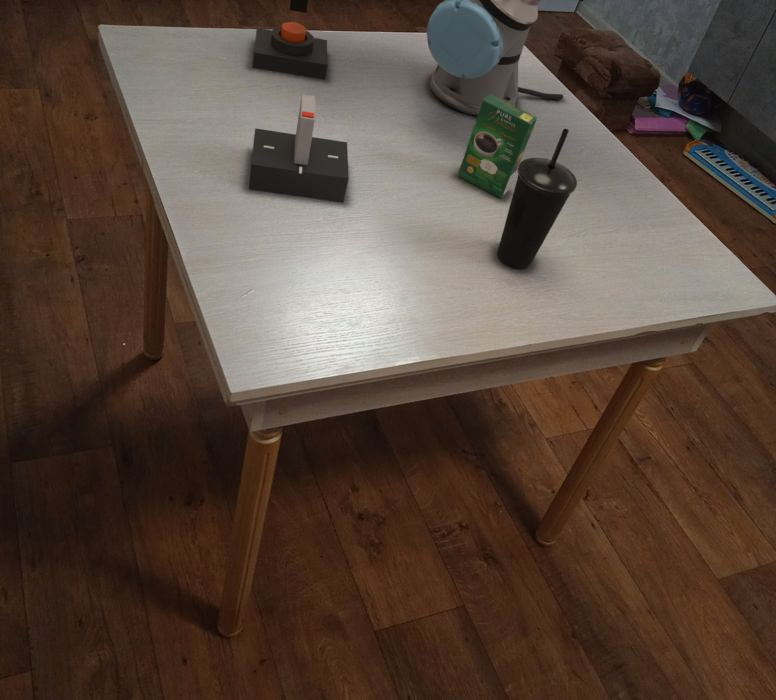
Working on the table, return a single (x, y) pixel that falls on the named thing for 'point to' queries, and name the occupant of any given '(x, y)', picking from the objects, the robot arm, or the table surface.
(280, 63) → the button block
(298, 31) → the button
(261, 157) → the panel
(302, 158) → the grey upright slab
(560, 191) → the drinking cup
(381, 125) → the table surface
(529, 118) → the coffee box
